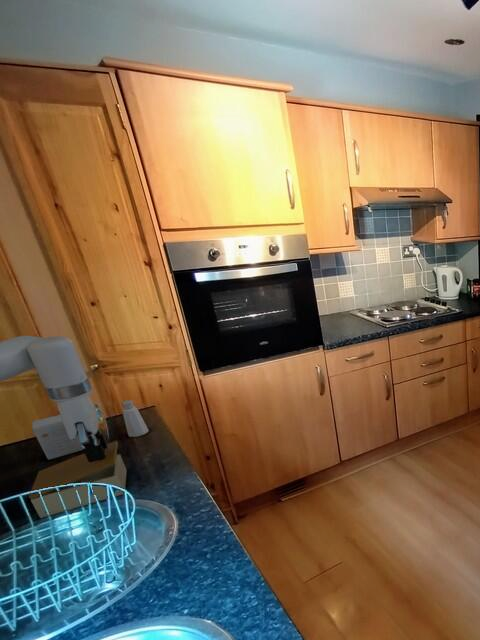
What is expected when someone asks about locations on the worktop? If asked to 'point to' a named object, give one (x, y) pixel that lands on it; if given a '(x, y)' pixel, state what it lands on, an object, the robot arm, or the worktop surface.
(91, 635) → the worktop surface
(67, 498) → the open cream tray
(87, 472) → the cover
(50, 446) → the small box
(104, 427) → the beer glass
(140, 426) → the pepper shaker
